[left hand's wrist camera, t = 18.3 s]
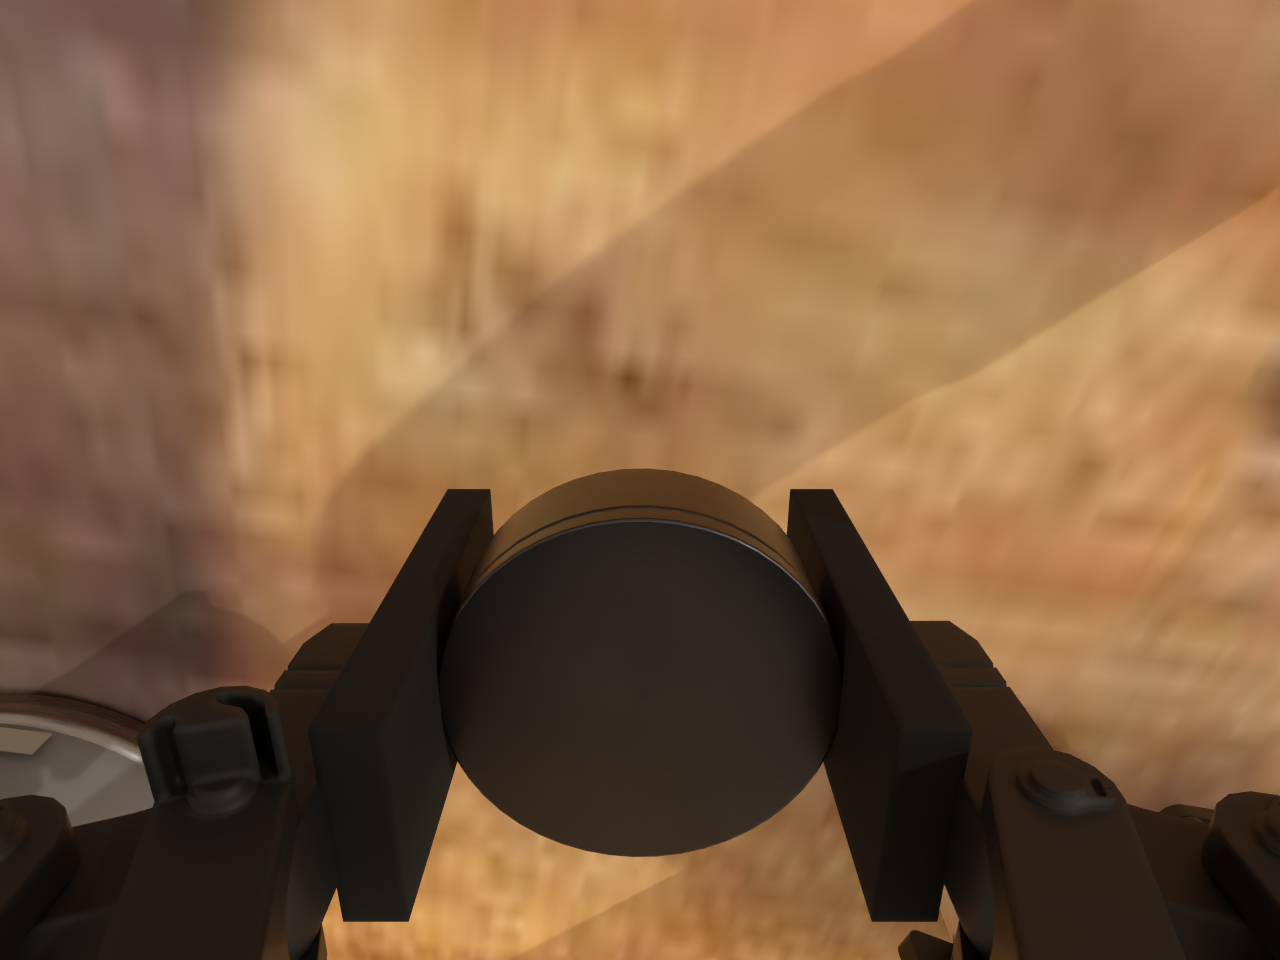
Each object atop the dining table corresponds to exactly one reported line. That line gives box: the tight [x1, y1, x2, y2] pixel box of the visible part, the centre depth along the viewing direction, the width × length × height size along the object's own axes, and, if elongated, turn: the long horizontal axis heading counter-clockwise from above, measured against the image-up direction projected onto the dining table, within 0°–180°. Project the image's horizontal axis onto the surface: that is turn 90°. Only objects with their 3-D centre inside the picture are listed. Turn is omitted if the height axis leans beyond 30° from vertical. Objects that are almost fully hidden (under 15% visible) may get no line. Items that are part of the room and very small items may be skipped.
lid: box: [438, 469, 843, 857], centre depth 12 cm, size 5×5×2 cm
